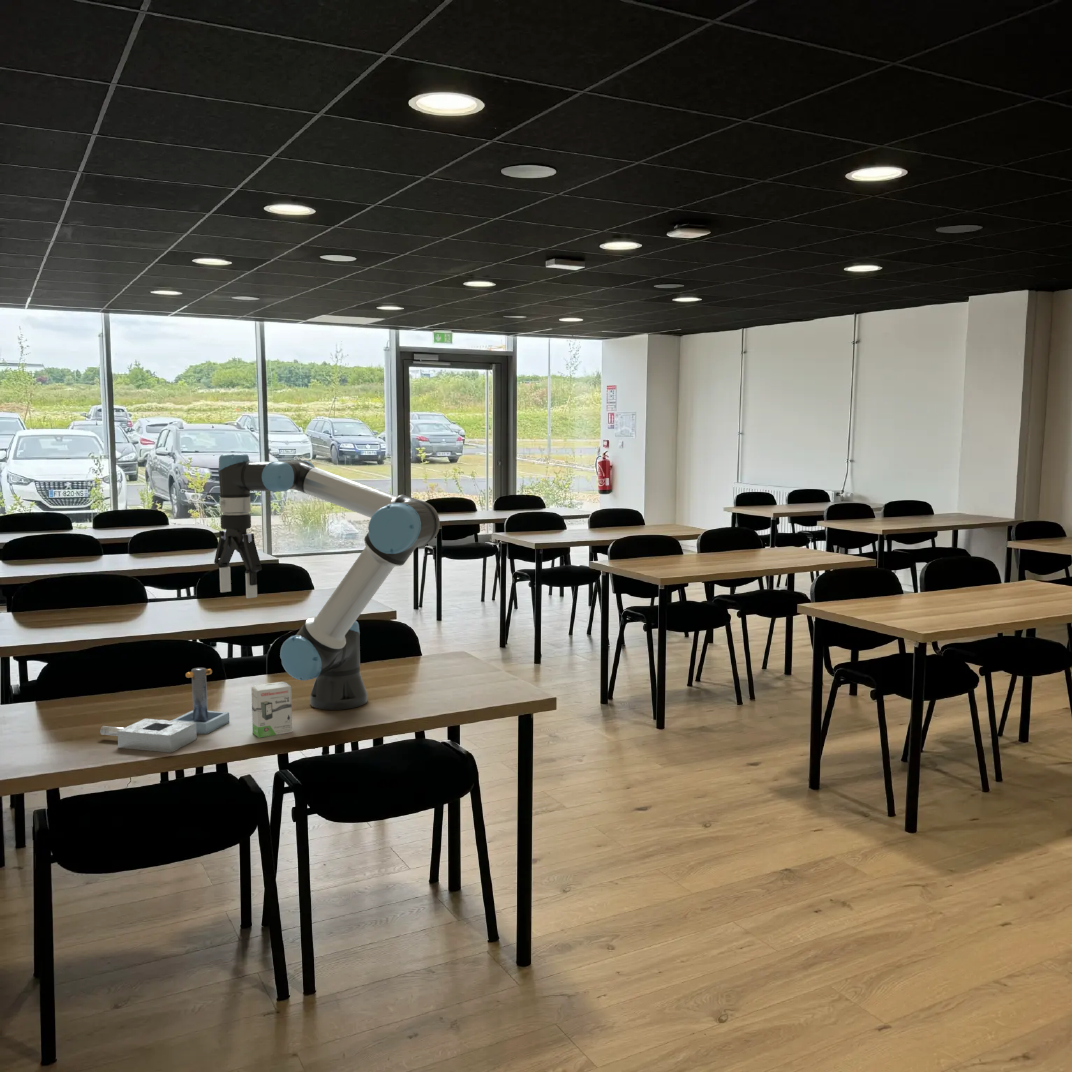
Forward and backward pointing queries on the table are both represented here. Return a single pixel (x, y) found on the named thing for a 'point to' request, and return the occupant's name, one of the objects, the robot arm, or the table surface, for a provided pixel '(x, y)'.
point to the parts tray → (213, 721)
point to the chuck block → (153, 735)
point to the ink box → (271, 709)
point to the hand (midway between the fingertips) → (238, 594)
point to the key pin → (199, 693)
